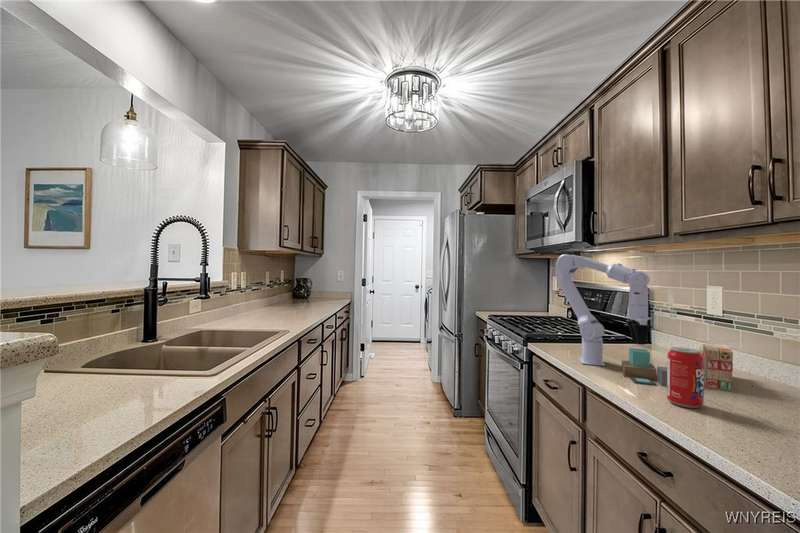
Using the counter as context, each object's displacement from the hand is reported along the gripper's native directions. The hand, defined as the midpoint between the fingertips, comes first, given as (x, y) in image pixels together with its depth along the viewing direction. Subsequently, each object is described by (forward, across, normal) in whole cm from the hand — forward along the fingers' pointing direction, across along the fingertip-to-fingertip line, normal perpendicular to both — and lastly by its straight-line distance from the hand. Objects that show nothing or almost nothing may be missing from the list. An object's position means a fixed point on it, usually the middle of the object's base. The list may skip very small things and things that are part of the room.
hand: (638, 342), depth 131 cm
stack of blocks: (+11, -3, -21) cm, 24 cm away
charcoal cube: (+11, -14, -5) cm, 18 cm away
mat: (+10, -14, +2) cm, 17 cm away
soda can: (+11, -33, -4) cm, 35 cm away
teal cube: (+7, -6, +1) cm, 9 cm away
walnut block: (+11, -6, +1) cm, 12 cm away
